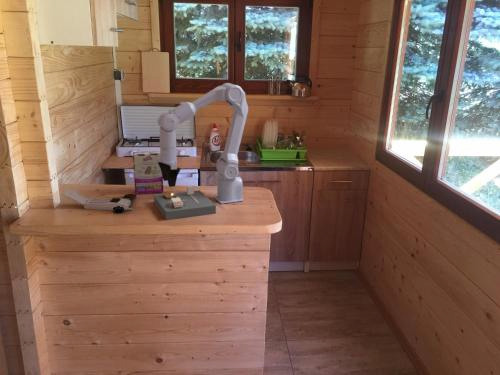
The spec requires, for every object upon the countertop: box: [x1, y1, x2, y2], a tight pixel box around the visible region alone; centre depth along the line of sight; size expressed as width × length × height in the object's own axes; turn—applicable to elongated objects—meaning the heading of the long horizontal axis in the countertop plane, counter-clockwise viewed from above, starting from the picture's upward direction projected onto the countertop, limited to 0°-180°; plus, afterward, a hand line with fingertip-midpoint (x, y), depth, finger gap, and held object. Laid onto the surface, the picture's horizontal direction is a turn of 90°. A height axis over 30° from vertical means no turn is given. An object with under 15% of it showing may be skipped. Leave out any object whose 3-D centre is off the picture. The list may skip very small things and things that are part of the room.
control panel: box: [153, 189, 217, 221], centre depth 153 cm, size 18×18×5 cm
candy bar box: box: [132, 150, 164, 195], centre depth 167 cm, size 11×5×16 cm, turn 106°
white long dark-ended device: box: [61, 188, 134, 211], centre depth 151 cm, size 6×6×25 cm
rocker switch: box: [171, 197, 183, 208], centre depth 147 cm, size 3×5×1 cm, turn 25°
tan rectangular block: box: [186, 184, 195, 195], centre depth 158 cm, size 2×2×3 cm
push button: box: [164, 190, 175, 200], centre depth 156 cm, size 4×4×3 cm
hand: (169, 183), depth 154 cm, fingers open, 7 cm apart
